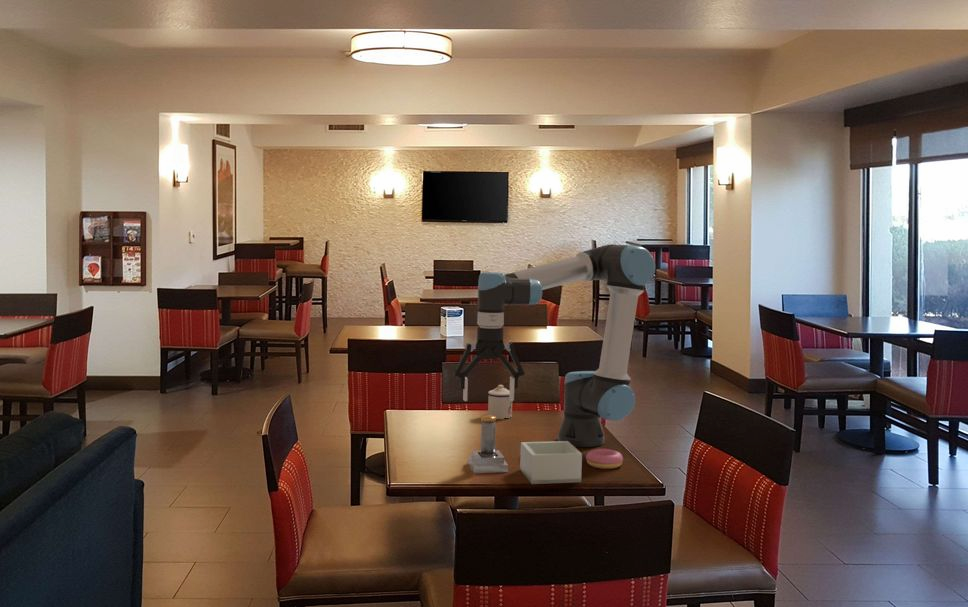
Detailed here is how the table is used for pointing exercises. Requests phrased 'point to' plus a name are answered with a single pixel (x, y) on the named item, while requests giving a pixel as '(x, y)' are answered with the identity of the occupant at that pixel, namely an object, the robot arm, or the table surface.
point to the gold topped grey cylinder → (488, 436)
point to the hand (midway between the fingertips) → (488, 400)
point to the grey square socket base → (487, 463)
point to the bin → (550, 462)
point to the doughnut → (604, 458)
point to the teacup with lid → (499, 403)
